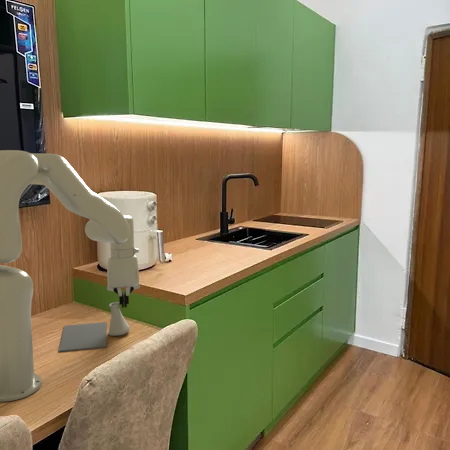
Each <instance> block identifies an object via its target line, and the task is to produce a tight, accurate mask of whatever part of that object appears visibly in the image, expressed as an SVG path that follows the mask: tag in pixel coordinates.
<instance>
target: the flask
mask: <svg viewBox="0 0 450 450" xmlns="http://www.w3.org/2000/svg"><path fill="white" fill-rule="evenodd" d="M119 305H120V302H119V301H116V302H112V303H109V305H108V307H109V308H110V321H109V323H110V324H109V326H108V327H109V328H108V333H107V335H108V336H113V337H116V336H123V335H125V334H126V333H129V331H130V330H131V327H130V325H129V324H128V322H127V321H126V319H125V317H124V315H123V313H122V311H121V309H120V306H119Z"/></svg>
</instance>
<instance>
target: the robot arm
mask: <svg viewBox="0 0 450 450" xmlns="http://www.w3.org/2000/svg"><path fill="white" fill-rule="evenodd" d="M29 185H39V186H40V185H41V186H45V187H46V188H47V189H48V190H49V191H50V192H51V193H52V195H53V196H54V197H56V199H57V200H58V201H59V202H60V203H61V204H62V205H63V207H64V208H65V209H66V210H67V211H69V212H71V213H72V214H75V215H78V216H79V217H83V218H86V219H88V221H87V223H86V224H85V227H84V232H85V235H86V237H88V238H89V239H90V240H91V241H95V242H100V243H107V244H108V243H109V245H110V247H109V248H110V256H108V258H107V269H106V270H107V271H106V275H107V276H106V278H107V287H106V290H107V291H109V292H114V293H116V295H118V298H119V299H118V300H119V301H118V302H119V305H121V308H122V309H123V308H125V309H126V308H128V306H127V305H129V304H130V303H129V301H130V298H129V296H130V295H131V293H133V291H135V290H138V289H140V288H141V284H140V269H139V264H138V263H139V262H138V257H137V255H135V254H138V253H140V251H139V248H137V247H135V236H134V234H135V233H134V232H135V231H134V230H135V229H134V218H133V217H132V215H129V214H122V212H121V211H120V210H119V209H118V208H117V207H116V206H115V205H114V204H112V203H111V202H110V201H108V200H107V199H105V198H103V197H102V196H100V195H99V194H97V193H96V192H94V191H93V190H91V189H90V187H89V186H88V185H87V184H86V183H85V182H84V180H83V179H82V178H81V177H80V175H79V174H78V173H77V171H76V170H75V169H74V168H73V166H72V165H71V164H70V163H69V162H68V160H67V159H66V158H65V157H63V156H62V155H60V154H57V153H32V152H29V151H24V150H18V149H17V150H16V149H15V150H14V149H13V150H11V149H6V150H4V149H3V150H0V403H1V402H3V403H4V402H12V401H17V400H21V399H24V398H25V397H26V398H27V397H29V396H31V395H32V394H34V393H35V392H36V391H38V390H39V388H40V387H41V385H42V378H41V376H40V375H39V374H37V373H35V365H34V346H33V330H32V300H33V295H34V282H33V279H32V278H31V276H30V275H29V274H28V273H27V272H26V271H24V270H22V269H20V268H17V267H13V266H8V265H4V264H9V263H13V262H15V261H16V260H18V259H19V258H20V256H21V254H22V252H23V238H22V230H21V229H22V228H21V221H20V210H19V209H20V208H19V207H20V206H19V205H20V199H21V196H22V195H23V193H24V191H25V190H26V188H28V186H29ZM2 264H3V265H2ZM122 288H125V292H124V293H123V291H122V290H123V289H122Z"/></svg>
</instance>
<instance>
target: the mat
mask: <svg viewBox="0 0 450 450" xmlns="http://www.w3.org/2000/svg"><path fill="white" fill-rule="evenodd" d="M107 335H108V333H107V321H103V322H95V323H94V322H92V323H81V324H79V323H78V324H68V325H67V324H66V325H64V326H63V331H62V335H61V340H60V343H59V348H58V353H64V352H73V351H74V352H75V351H83V350H84V351H85V350H93V349H95V350H96V349H104V348H107V347H108V345H107V344H108V341H107Z"/></svg>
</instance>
